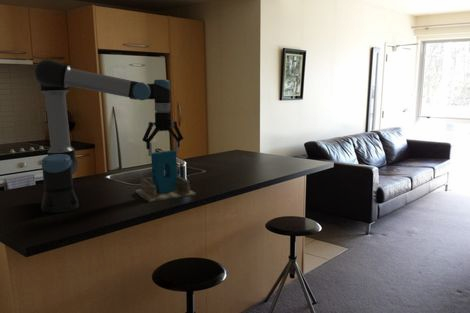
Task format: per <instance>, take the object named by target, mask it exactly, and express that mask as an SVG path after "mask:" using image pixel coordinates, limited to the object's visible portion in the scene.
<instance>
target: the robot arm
mask: <svg viewBox="0 0 470 313" xmlns="http://www.w3.org/2000/svg"><path fill="white" fill-rule="evenodd" d="M33 74H34V77H35V79H36V81H37V82H38V83H39V87H40V93H42V94H43V95H44V97H45V98H44V100H45V107H46V108H45V110H46V116H47V126H48V135H49V144H50V148H49V149H48V151H47V155H46V156H44V157H43V158H42V159H41V170H42V178H43V181H42V182H43V191H44V193H43V197H42V202H41V206H40V208H41V209H40V210H41V212H42V213H47V214H58V213H65V212H70V211H73V210H76V209H78V208H79V207H80V206H79V203H80V202H79V200H78V198H77V196H76V193H75V191H74V182H73V181H74V180H73V175H75V173H76V171H77V169H78V160H77V158H76V151H75V148H74V147H73V146H72V145H71V136H70V135H71V134H70V126H69V117H68V116H69V115H68V106H67V93H68V92H69V87H72V88H78V89H83V90H88V91H94V92H99V93H104V94H108V95H109V94H110V95H115V96H120V97H125V98H129V99H130V100H135V101H137V100H138V101H146V100H154V111H155V112H154V122H152V121H148V127H147V128H146V130H145V133H144V135H143V137H142V142H145V146H146V150H147V152H148V153H147V154H148V156H149V157H151V156H152V153H153V151H152V150H153V148H152V146H153V145H152V142H151V141H152V140H153V139H154V137H155V136H157V134H158V132H168V133H169V134H170V135H171V136H172V137H173V138H174V151H176V155H179V148H180V142H181V141H182V140H184V137H183V135H182V133H181V131H180V129H179V127H178V122H177V121H175V120H174V121H171V119H172V118H171V115H172V114H171V112H170V111H171V82H170V80H168V79H154V80H153V83H146V82H142V81H141V82H140V81H135V80H130V79H125V78H120V77H116V76H110V75H106V74H102V73H101V74H100V73H96V72H91V71H86V70H81V69H78V68H77V69H76V68H72V67H71V66H70V65H69V64H65V63H61V62H59V61H57V60H54V59H48V58H47V59H42V60H40V61H39V62H37V64H36V65H35V67H34V73H33ZM154 126H155V128H154V129H153V127H154ZM171 126H172V127H173V128H172V127H171ZM152 129H153V131H152ZM173 129H174V130H175V131H173ZM151 131H152V132H151Z"/></svg>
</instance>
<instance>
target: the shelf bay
mask: <svg viewBox="0 0 470 313" xmlns="http://www.w3.org/2000/svg"><path fill="white" fill-rule="evenodd" d="M140 184H141V189H140V188H139V189H135V193H136V194H138V195H139V196H140V197H142V198H143V199H144V200H146V201H148V202H149V203H151V202H158V201H165V200H172V199H178V198H184V197H190V196H197V192H195V191H194V190H191V189H190V187H191V186H190V180H187V179H185V178H183V177H181V176H179V175H177V181H176V186H175V191H173V192H168V193H163V194H159V193H156V185H154V183H153V180H152V176H151V177H144V178H141V181H140Z"/></svg>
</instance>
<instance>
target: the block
mask: <svg viewBox="0 0 470 313" xmlns="http://www.w3.org/2000/svg"><path fill="white" fill-rule="evenodd" d="M150 158H151V173H152V174H151V175H152V176H151V177H152V180H153V183H154V185H156V193H159V194H163V193H168V192H173V191H175V186H176V181H177V176H178V173H177V172H178V167H177V164H178V163H177V154H176V151H175V150H164V151H158V152H152V156H150ZM164 170H165V176H164Z"/></svg>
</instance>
